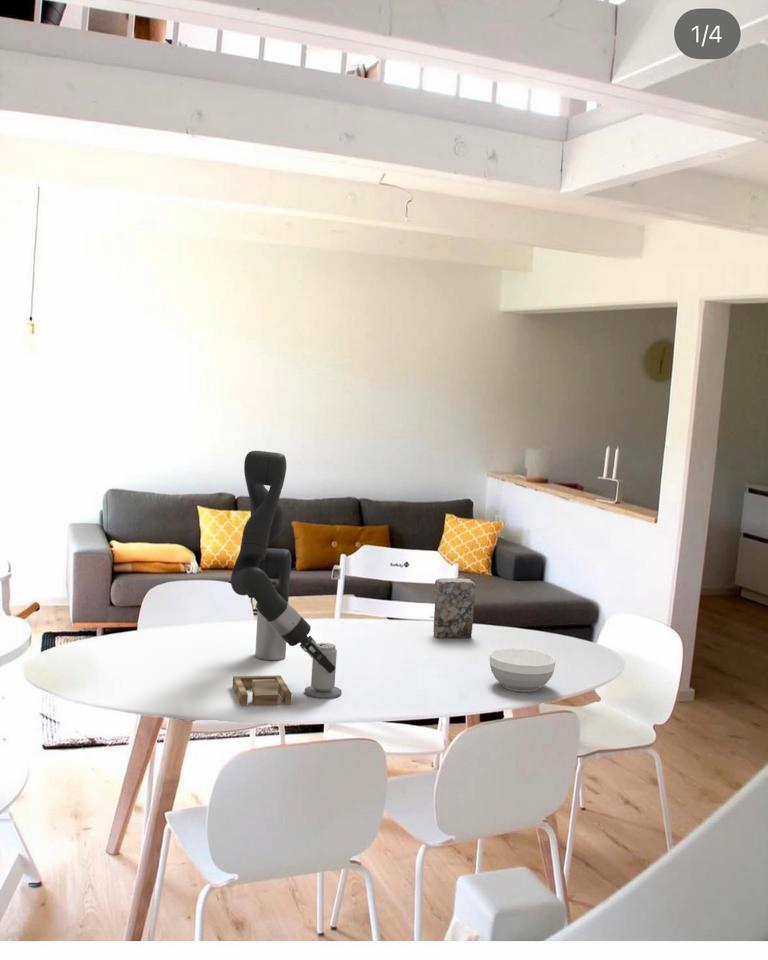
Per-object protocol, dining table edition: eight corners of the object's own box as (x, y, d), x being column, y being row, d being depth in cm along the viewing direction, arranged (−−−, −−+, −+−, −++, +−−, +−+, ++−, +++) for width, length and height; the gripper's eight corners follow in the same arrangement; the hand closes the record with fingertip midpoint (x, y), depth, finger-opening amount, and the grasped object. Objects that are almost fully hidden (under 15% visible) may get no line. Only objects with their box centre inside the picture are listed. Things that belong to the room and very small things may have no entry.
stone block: (438, 639, 346) (441, 581, 345) (430, 634, 353) (434, 577, 351) (473, 638, 351) (477, 581, 349) (465, 634, 357) (469, 577, 356)
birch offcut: (251, 691, 265) (252, 679, 265) (274, 690, 267) (274, 679, 267) (255, 695, 262) (255, 684, 261) (278, 694, 264) (278, 683, 263)
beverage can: (322, 683, 281) (324, 640, 280) (339, 689, 277) (341, 645, 276) (305, 687, 276) (308, 644, 275) (323, 693, 272) (326, 649, 271)
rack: (232, 687, 277) (233, 676, 277) (279, 686, 281) (280, 675, 281) (241, 706, 261) (241, 694, 261) (291, 704, 265) (291, 693, 265)
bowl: (517, 674, 308) (519, 645, 307) (567, 690, 294) (569, 660, 293) (474, 683, 295) (476, 653, 294) (524, 700, 281) (526, 669, 280)
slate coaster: (301, 688, 280) (301, 685, 280) (336, 687, 283) (336, 684, 283) (308, 699, 270) (308, 696, 270) (345, 698, 273) (345, 695, 273)
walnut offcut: (252, 702, 266) (252, 690, 266) (274, 701, 268) (275, 690, 267) (254, 706, 262) (254, 695, 262) (277, 706, 264) (277, 694, 263)
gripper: (305, 620, 266) (346, 664, 270) (294, 608, 280) (334, 650, 284) (283, 640, 265) (325, 684, 269) (274, 627, 279) (314, 669, 283)
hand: (329, 667), depth 276 cm, fingers closed on beverage can, 6 cm apart
